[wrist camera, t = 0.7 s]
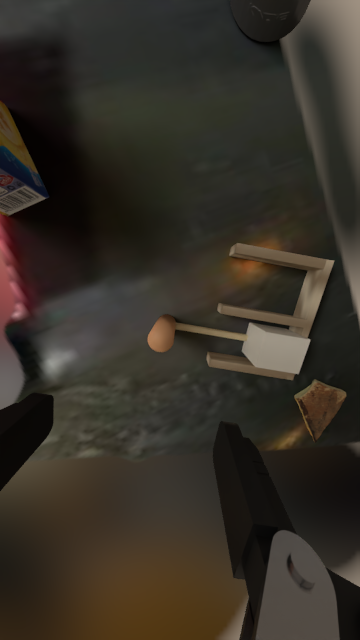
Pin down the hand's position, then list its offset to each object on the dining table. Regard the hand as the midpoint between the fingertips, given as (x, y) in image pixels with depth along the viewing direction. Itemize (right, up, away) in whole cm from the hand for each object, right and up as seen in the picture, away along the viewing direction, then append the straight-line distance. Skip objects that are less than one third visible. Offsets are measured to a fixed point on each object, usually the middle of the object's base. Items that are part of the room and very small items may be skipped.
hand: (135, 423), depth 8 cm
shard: (+27, -10, +23) cm, 37 cm away
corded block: (+9, +3, +20) cm, 22 cm away
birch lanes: (+14, +6, +19) cm, 25 cm away
